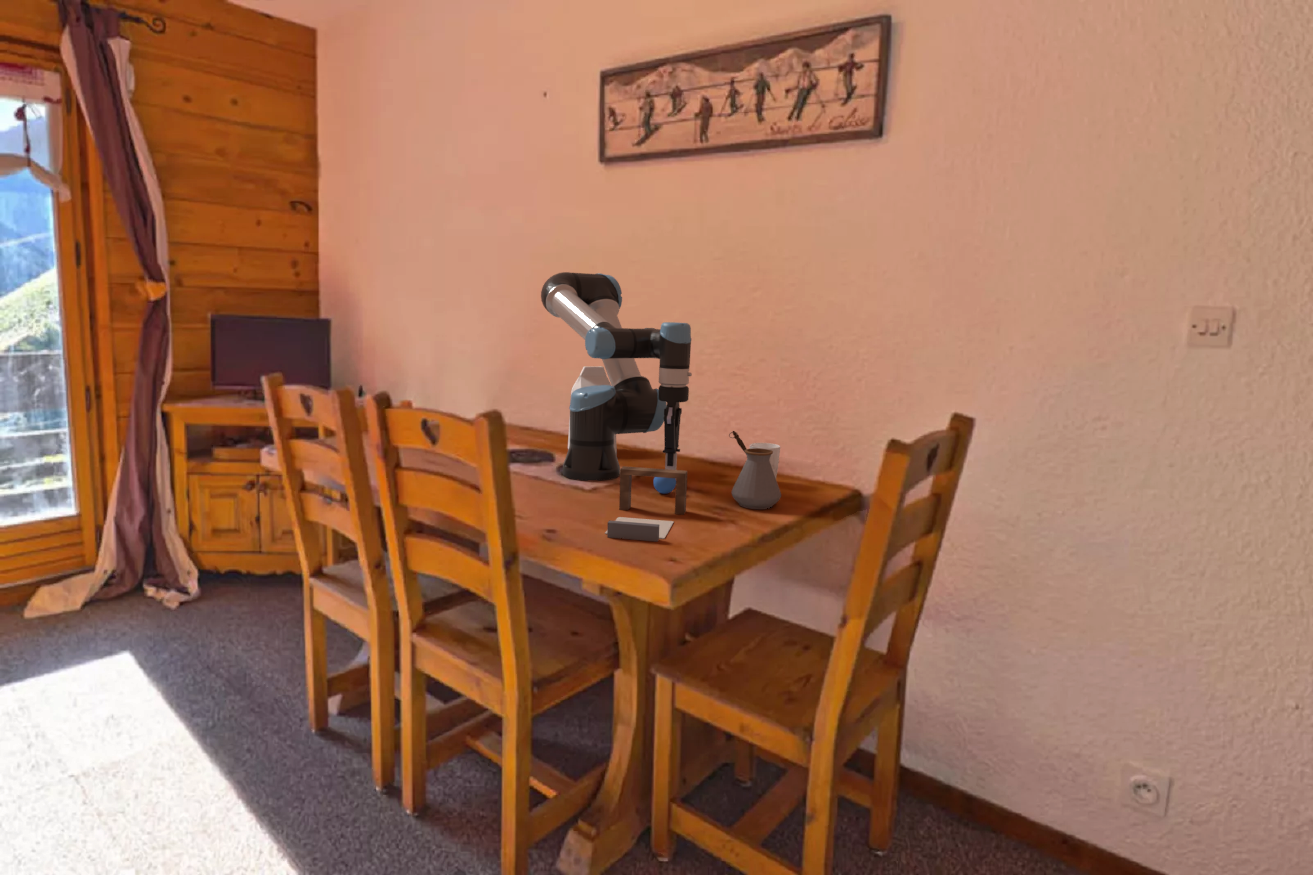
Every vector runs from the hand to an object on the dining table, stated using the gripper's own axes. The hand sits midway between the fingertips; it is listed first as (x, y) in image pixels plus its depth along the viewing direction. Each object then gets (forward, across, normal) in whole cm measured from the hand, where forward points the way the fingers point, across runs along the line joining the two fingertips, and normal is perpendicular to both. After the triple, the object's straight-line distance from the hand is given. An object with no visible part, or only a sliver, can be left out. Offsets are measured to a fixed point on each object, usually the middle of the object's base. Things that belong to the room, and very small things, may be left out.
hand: (670, 477), depth 195 cm
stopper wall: (+2, -46, 0) cm, 46 cm away
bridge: (+2, -25, 0) cm, 25 cm away
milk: (+2, +36, +30) cm, 47 cm away
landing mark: (+2, -39, 0) cm, 39 cm away
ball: (-1, -9, 0) cm, 9 cm away
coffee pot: (+2, -9, -20) cm, 22 cm away
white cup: (+2, +10, -23) cm, 25 cm away
